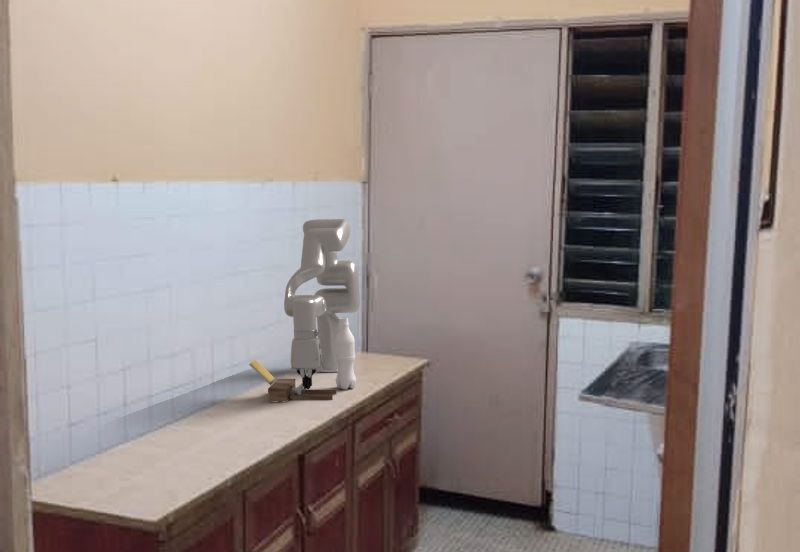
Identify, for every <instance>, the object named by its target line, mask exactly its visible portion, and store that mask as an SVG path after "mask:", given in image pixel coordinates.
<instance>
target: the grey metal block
mask: <svg viewBox="0 0 800 552" xmlns="http://www.w3.org/2000/svg"><path fill="white" fill-rule="evenodd" d="M305 390H306V389H304V386H303V385H302V383H300V384H299V385H298V386H296V387H290V388H289V396H290V397H291V395H306V394H305Z"/></svg>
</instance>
